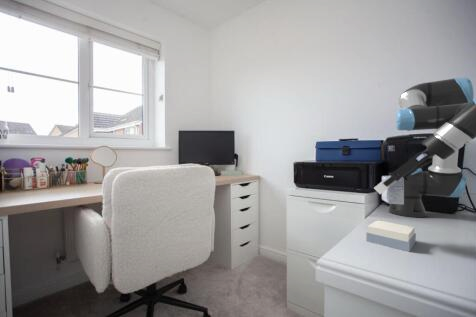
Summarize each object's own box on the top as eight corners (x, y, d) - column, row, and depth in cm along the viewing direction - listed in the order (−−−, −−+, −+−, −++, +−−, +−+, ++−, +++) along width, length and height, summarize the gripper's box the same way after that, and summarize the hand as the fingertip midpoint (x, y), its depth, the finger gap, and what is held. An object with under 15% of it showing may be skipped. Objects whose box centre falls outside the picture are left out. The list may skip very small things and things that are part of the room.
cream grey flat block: (376, 233, 83) (376, 219, 83) (415, 241, 74) (415, 226, 74) (366, 240, 74) (366, 226, 74) (409, 251, 66) (409, 235, 66)
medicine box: (404, 205, 70) (404, 177, 70) (387, 203, 71) (388, 177, 71) (396, 200, 77) (396, 176, 77) (381, 199, 79) (381, 175, 79)
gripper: (455, 149, 56) (381, 202, 67) (458, 152, 71) (396, 195, 82) (428, 129, 60) (362, 183, 71) (436, 136, 74) (380, 179, 86)
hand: (380, 189), depth 77 cm, fingers closed on medicine box, 9 cm apart
